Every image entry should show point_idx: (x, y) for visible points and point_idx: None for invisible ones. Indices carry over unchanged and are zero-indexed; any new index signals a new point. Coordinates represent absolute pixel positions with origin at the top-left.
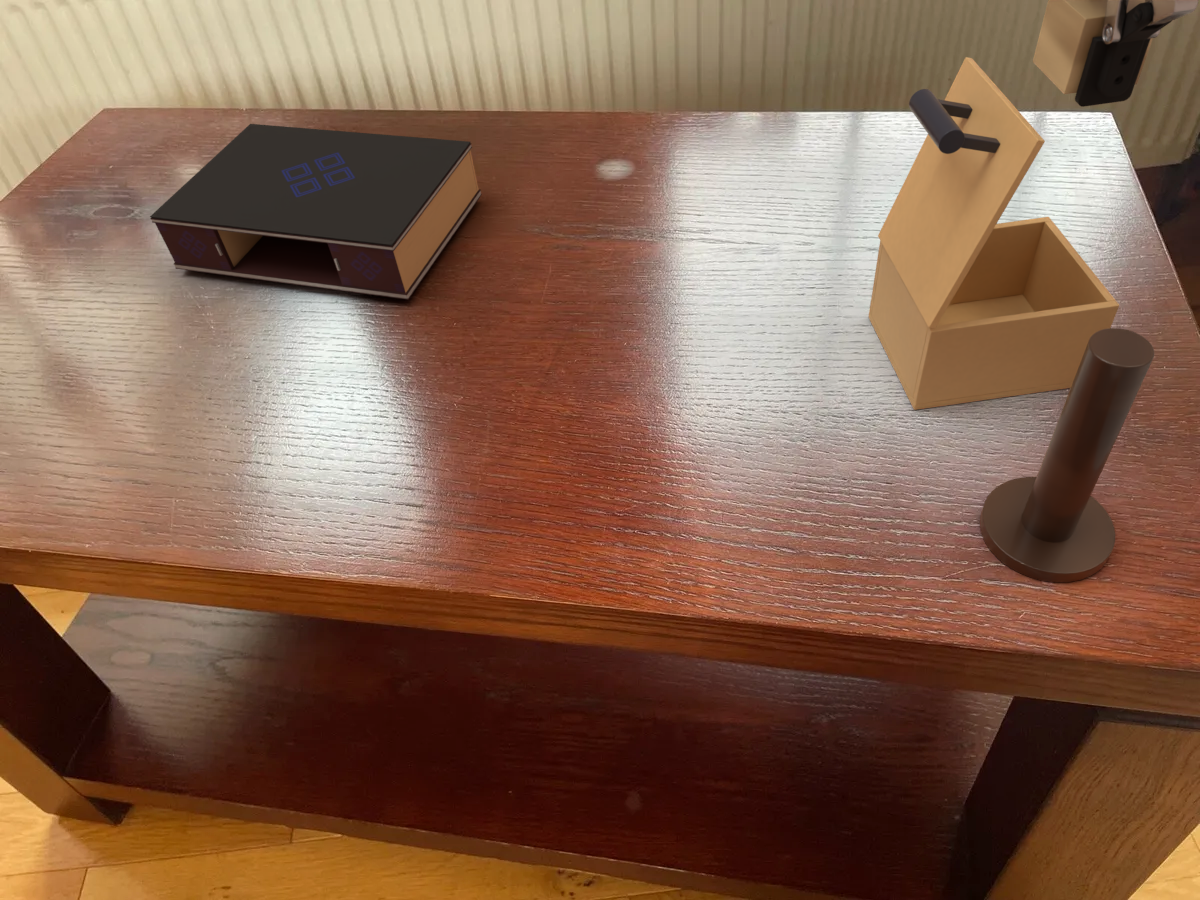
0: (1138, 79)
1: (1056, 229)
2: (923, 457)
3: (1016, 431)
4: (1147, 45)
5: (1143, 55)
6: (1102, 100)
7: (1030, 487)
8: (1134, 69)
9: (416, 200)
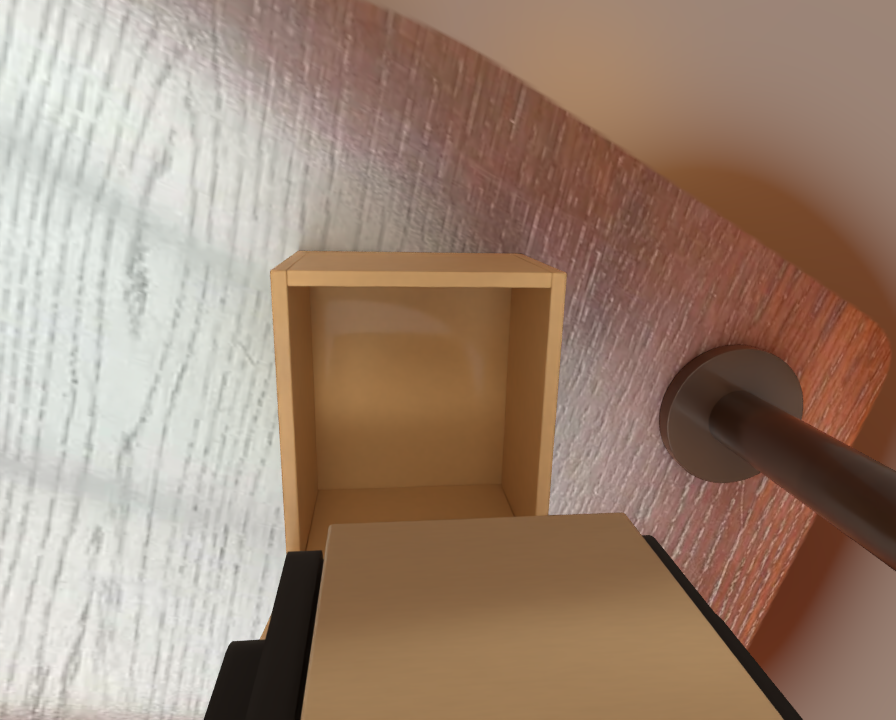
0: (630, 523)
1: (319, 275)
2: (585, 498)
3: (576, 380)
4: (773, 688)
5: (736, 647)
6: None
7: (684, 416)
8: (759, 668)
9: None
